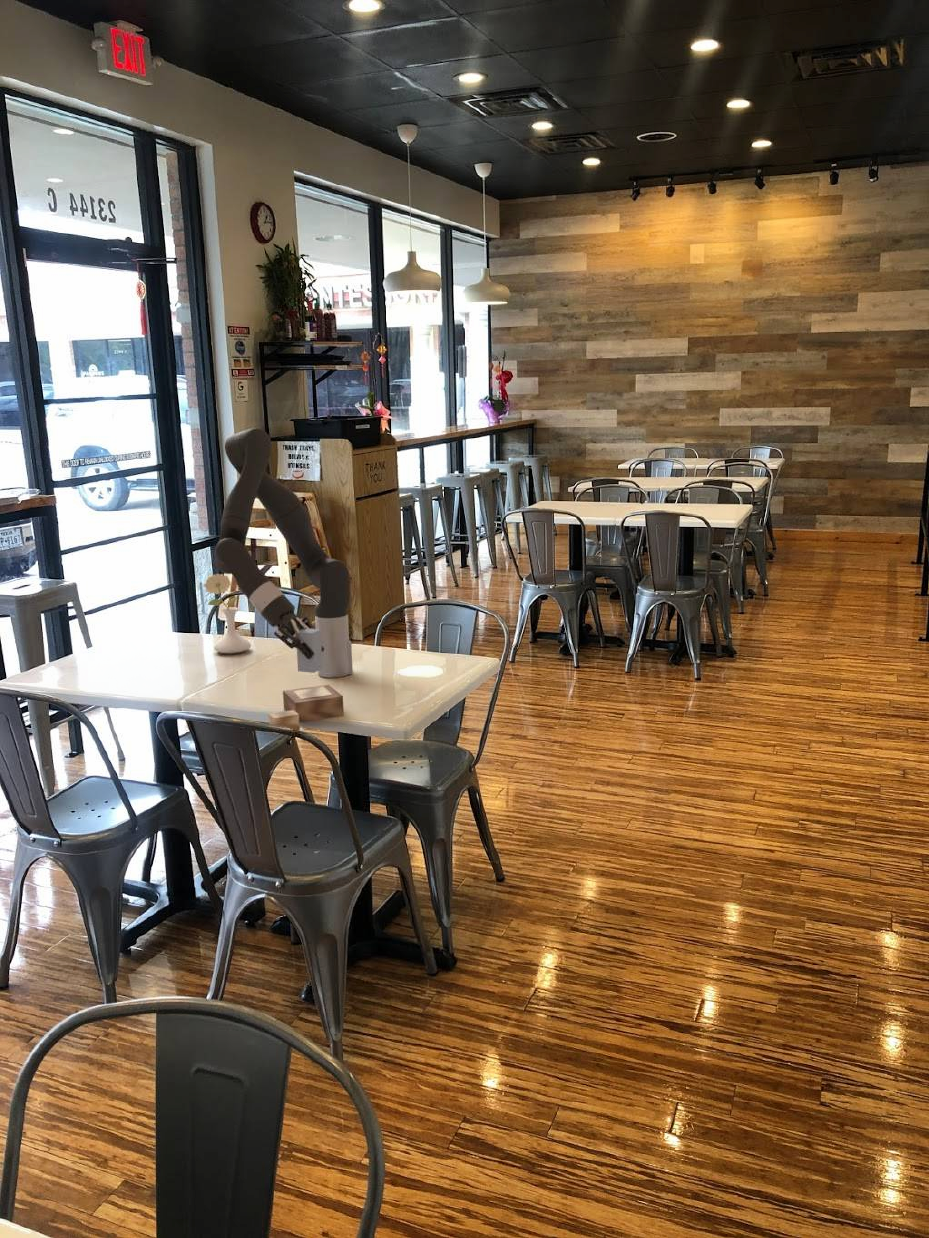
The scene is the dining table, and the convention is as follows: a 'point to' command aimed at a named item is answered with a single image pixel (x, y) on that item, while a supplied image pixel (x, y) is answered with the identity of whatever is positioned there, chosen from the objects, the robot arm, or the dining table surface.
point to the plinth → (314, 702)
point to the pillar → (315, 644)
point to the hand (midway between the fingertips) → (316, 654)
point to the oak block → (285, 719)
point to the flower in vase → (231, 639)
